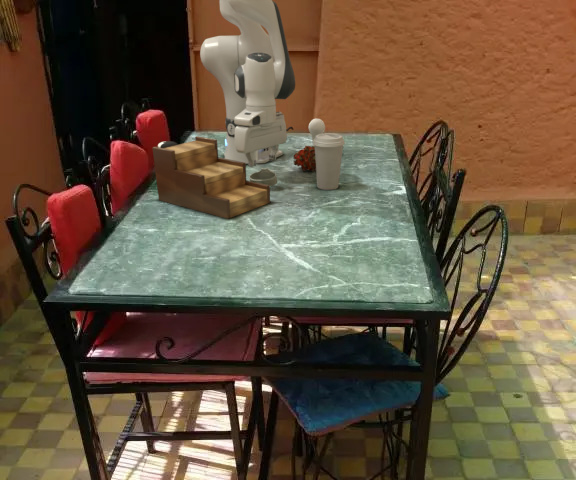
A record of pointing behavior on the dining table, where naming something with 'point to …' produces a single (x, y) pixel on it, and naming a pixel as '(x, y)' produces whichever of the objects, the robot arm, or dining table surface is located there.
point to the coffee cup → (328, 159)
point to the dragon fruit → (306, 158)
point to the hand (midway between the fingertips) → (262, 163)
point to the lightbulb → (316, 128)
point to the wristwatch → (264, 177)
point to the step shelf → (206, 180)
